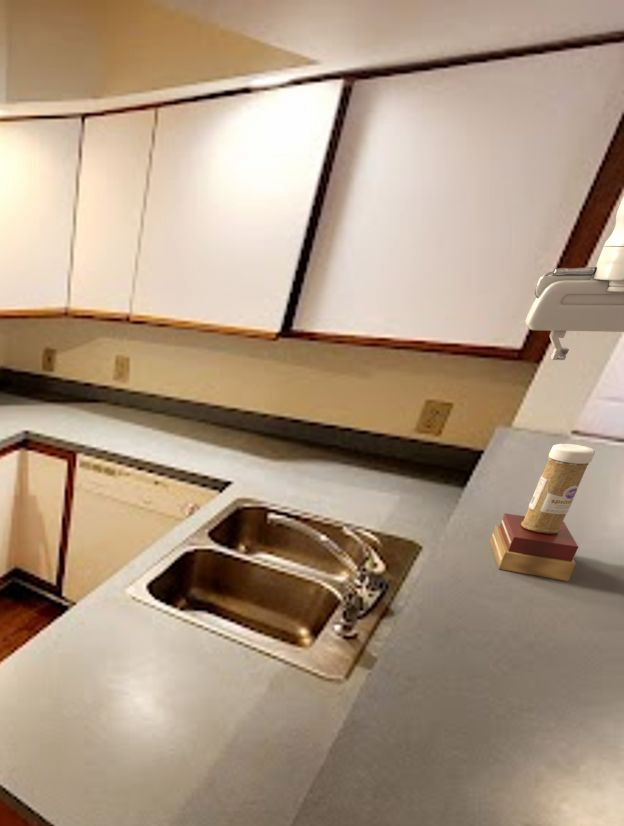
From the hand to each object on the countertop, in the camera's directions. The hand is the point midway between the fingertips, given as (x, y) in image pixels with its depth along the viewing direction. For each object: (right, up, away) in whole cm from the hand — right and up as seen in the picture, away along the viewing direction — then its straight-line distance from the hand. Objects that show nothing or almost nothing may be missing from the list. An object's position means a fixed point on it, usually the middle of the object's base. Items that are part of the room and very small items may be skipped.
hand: (598, 361), depth 99 cm
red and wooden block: (-10, -32, +2) cm, 33 cm away
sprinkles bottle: (-10, -27, 0) cm, 29 cm away
